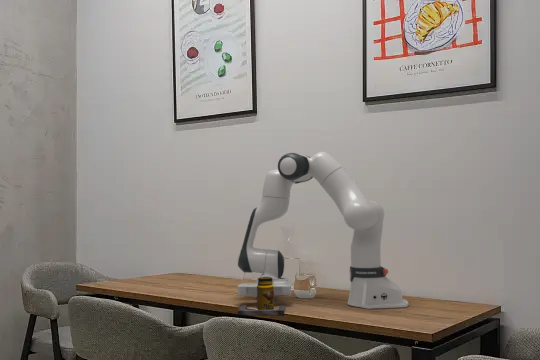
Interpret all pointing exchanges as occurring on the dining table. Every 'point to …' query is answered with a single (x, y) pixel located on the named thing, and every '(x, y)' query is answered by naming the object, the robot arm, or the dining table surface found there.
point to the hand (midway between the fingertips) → (262, 292)
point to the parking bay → (261, 311)
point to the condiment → (265, 294)
